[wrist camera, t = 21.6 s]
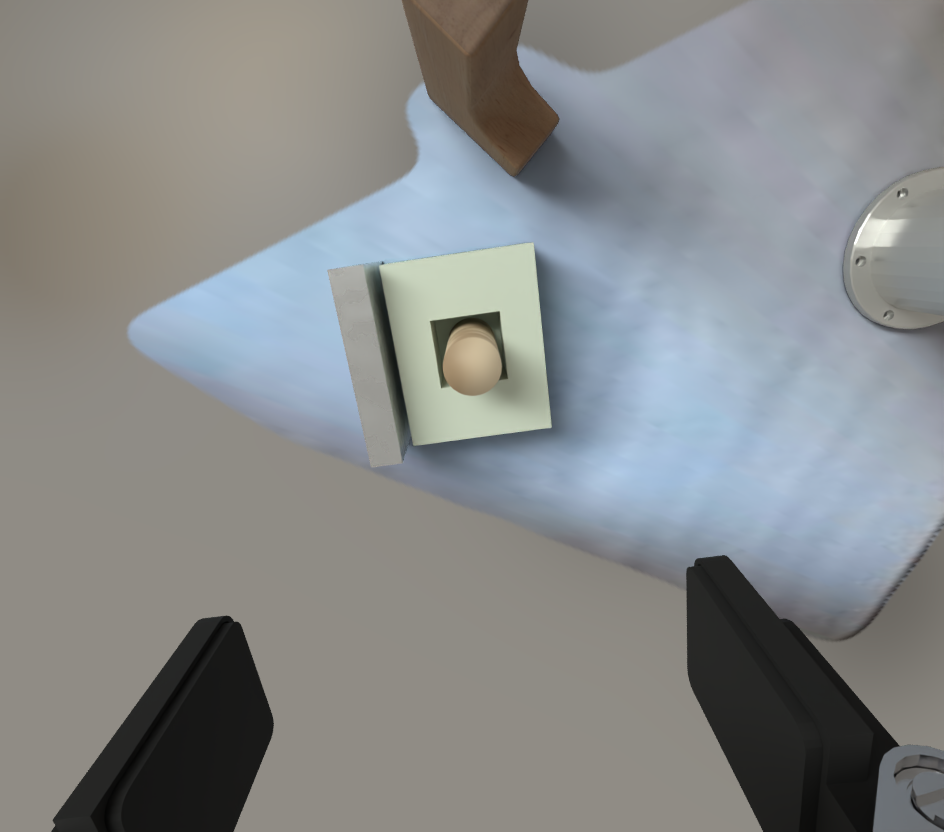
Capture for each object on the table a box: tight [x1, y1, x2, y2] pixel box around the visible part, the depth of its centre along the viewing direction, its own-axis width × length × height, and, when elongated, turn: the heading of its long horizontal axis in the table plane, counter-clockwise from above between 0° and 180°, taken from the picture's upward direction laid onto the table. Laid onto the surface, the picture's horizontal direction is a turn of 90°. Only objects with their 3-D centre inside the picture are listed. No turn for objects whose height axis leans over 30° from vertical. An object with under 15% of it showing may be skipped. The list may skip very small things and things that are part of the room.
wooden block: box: [402, 0, 559, 177], centre depth 31 cm, size 9×4×18 cm, turn 49°
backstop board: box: [328, 261, 411, 467], centre depth 42 cm, size 2×15×8 cm, turn 8°
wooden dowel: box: [443, 318, 502, 396], centre depth 40 cm, size 4×4×10 cm
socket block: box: [379, 243, 552, 446], centre depth 43 cm, size 12×14×5 cm
